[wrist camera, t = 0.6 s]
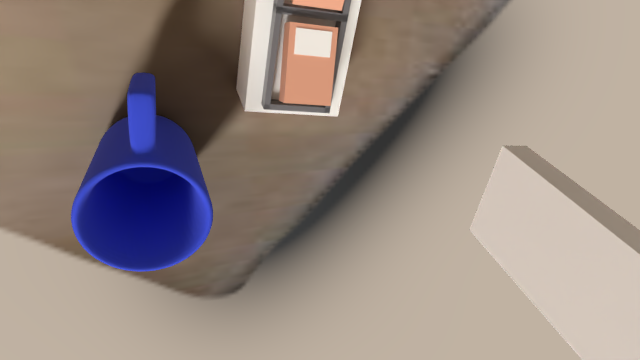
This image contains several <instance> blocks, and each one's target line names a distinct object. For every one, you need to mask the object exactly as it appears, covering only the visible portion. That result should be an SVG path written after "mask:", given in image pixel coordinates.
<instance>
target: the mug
mask: <svg viewBox="0 0 640 360" xmlns="http://www.w3.org/2000/svg"><path fill="white" fill-rule="evenodd" d="M127 108H128V117H126V118H123V119H121V120H120V121H118V122H116V123H115V124H114V125H112V126H111V127H110V128H109V129H108V130H107V132H106V133H105V134H104V136H103V137H102V139H101V141H100V143H99V146H98V148H97V150H96V152H95V155H94V157H93V159H92V161H91V164H90V166H89V168H88V170H87V172H86V175H85V177H84V179H83V181H82V184H81V186H80V188H79V190H78V193H77V195H76V197H75V199H74V202H73V206H72V212H71V221H72V227H73V230H74V233H75V235H76V237H77V239H78V241H79V243H80V244H81V245H82V246H83V248H84V249H85V250H86V251H87V252H88V253H89V254H91V255H92V256H93V257H94V258H96V259H98V260H99V261H101V262H103V263H105V264H107V265H110V266H112V267H115V268H119V269H123V270H129V271H153V270H159V269H163V268H167V267H170V266H173V265H175V264H177V263H179V262H181V261H183V260H185V259H186V258H188V257H189V256H191V255H192V254H193V253H194V252H195V251H197V250H198V249H199V247H200V246H201V245H202V244H203V243H204V241H205V240H206V238H207V236H208V234H209V232H210V229H211V226H212V221H213V209H212V203H211V200H210V197H209V194H208V190H207V187H206V184H205V181H204V178H203V175H202V172H201V169H200V165H199V162H198V159H197V156H196V153H195V150H194V147H193V144H192V142H191V140H190V138H189V137H188V135H187V134H186V132H185V131H184V130H183V129H182V128H181V127H180V126H179V125H177V124H176V123H175V122H173V121H171V120H170V119H167V118H165V117H162V116H158V115H156V90H155V76H154V75H153V74H150V73H136V74H134V75H133V77H132V79H131V82H130V85H129V89H128V93H127Z"/></svg>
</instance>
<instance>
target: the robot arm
mask: <svg viewBox="0 0 640 360" xmlns="http://www.w3.org/2000/svg"><path fill="white" fill-rule="evenodd" d="M470 231H471V232H472V233H473V235H474V236H475V237H476V238H477V239H478V240H479V241H480V243H481V244H482V245H483V246H484V247H485V249H486V250H487V251H488V252H489V253H490V254H491V255H492V257H493V258H494V259H495V260H496V261H497V262H498V264H499V265H500V266H501V267H502V268H503V269H504V270H505V272H506V273H507V274H508V275H509V276H510V277H511V278H512V280H513V281H514V282H515V283H516V284H517V285H518V287H519V288H520V289H521V290H522V291H523V292H524V293H525V295H526V296H527V297H528V298H529V299H530V300H531V302H532V303H533V304H534V305H535V306H536V307H537V308H538V310H539V311H540V312H541V313H542V314H543V315H544V316H545V318H546V319H547V320H548V321H549V322H550V324H551V325H552V326H553V327H554V328H555V329H556V330H557V332H558V333H559V334H560V335H561V336H562V337H563V339H564V340H565V341H566V342H567V343H568V344H569V345H570V347H571V348H572V349H573V350H574V351H575V352H576V353H577V355H578V356H579V357H580V358H581V359H582V360H640V230H638V229H637V228H636V227H635V226H633V225H632V224H630V223H629V222H628V221H626V220H625V219H624V218H622V217H621V216H620V215H618V214H617V213H616V212H614V211H613V210H612V209H610V208H609V207H608V206H606V205H605V204H603V203H602V202H601V201H600V200H598V199H597V198H596V197H594V196H593V195H591V194H590V193H589V192H587V191H586V190H585V189H583V188H582V187H581V186H579V185H578V184H577V183H575V182H574V181H573V180H571V179H570V178H569V177H567V176H566V175H565V174H563V173H562V172H561V171H559V170H558V169H556V168H555V167H554V166H553V165H551V164H550V163H548V162H547V161H546V160H544V159H543V158H542V157H540V156H539V155H538V154H536V153H535V152H534V151H532V150H531V149H530V148H528V147H527V146H502V149H501V151H500V154H499V156H498V159H497V161H496V164H495V166H494V169H493V171H492V174H491V176H490V179H489V182H488V184H487V186H486V189H485V191H484V194H483V197H482V199H481V202H480V204H479V207H478V209H477V212H476V214H475V217H474V219H473V222H472V224H471V227H470Z"/></svg>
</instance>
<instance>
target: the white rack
mask: <svg viewBox="0 0 640 360" xmlns="http://www.w3.org/2000/svg"><path fill="white" fill-rule="evenodd" d="M360 5H361V0H344V4H343V7H342V11H339V10H332V9H325V8H317V7H310V6H303V5H296V4H292V1H291V0H244V11H243V22H242V33H241V43H240V54H239V65H238V76H237V87H236V90H237V92H238V95H239V97H240V100H241V103H242V105H243V108H244V110H245V111H252V112H269V113H286V114H304V115H321V116H338V113H339V108H340V103H341V98H342V93H343V88H344V83H345V79H346V74H347V69H348V64H349V59H350V54H351V49H352V44H353V39H354V34H355V29H356V25H357V20H358V15H359V10H360ZM286 22H296V23H304V24H312V25H320V26H328V27H337V28H338V36H337V46H336V56H335V67H334V77H333V87H332V97H331V106H323V105H308V104H292V103H283V102H281V101H279V94H280V80H281V66H282V52H283V38H284V24H285V23H286Z"/></svg>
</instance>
